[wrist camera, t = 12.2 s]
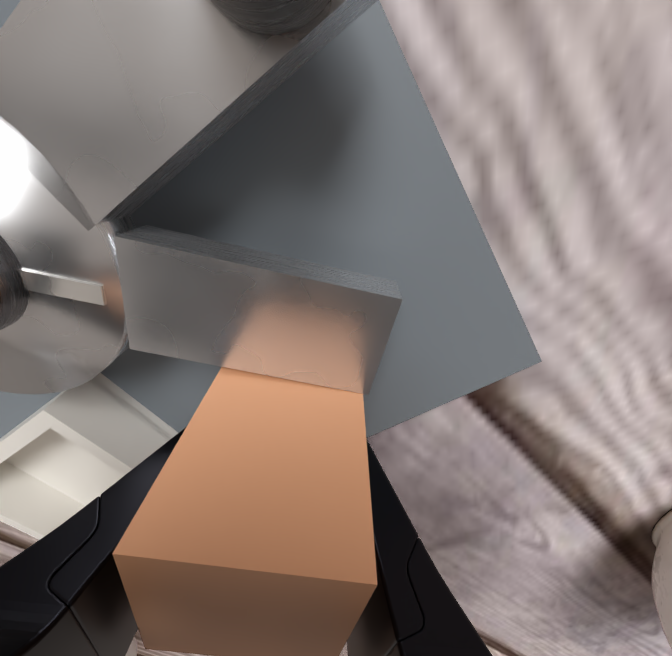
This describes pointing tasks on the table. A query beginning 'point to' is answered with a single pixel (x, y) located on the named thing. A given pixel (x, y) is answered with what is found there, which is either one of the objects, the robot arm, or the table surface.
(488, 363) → the faceplate
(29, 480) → the tray
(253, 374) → the block
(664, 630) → the lidded bowl
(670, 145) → the table surface
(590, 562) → the table surface
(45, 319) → the crank wheel
